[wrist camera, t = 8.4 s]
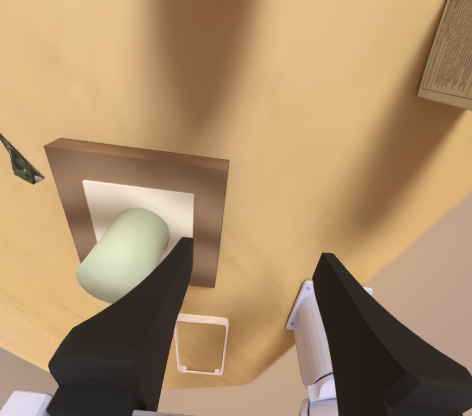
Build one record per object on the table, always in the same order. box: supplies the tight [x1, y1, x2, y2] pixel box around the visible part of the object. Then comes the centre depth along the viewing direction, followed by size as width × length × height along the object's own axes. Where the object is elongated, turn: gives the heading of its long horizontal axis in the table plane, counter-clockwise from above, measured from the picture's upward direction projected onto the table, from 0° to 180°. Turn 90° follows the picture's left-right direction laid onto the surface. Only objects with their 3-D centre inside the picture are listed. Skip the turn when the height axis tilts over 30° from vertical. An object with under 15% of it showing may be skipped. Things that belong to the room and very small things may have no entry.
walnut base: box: [44, 138, 229, 288], centre depth 23 cm, size 14×14×2 cm
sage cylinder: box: [77, 208, 169, 303], centre depth 20 cm, size 5×5×6 cm
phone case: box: [174, 313, 229, 375], centre depth 37 cm, size 7×1×15 cm
